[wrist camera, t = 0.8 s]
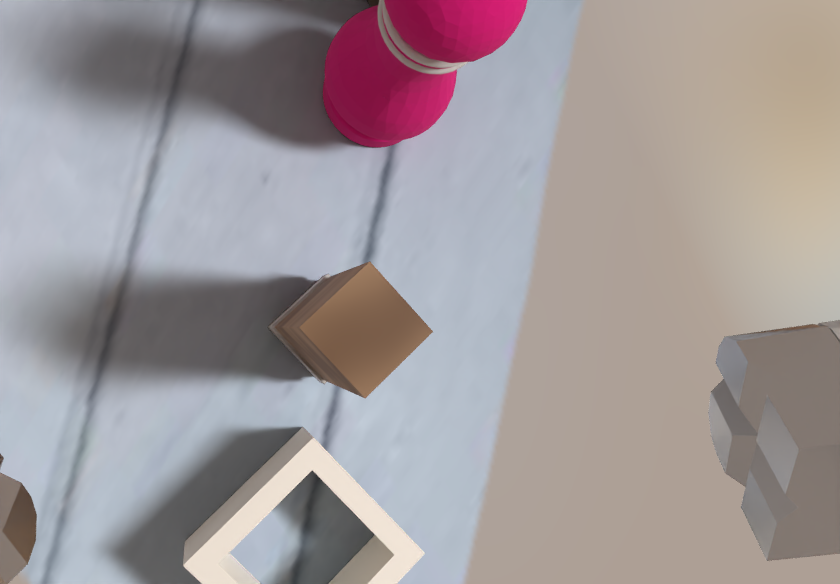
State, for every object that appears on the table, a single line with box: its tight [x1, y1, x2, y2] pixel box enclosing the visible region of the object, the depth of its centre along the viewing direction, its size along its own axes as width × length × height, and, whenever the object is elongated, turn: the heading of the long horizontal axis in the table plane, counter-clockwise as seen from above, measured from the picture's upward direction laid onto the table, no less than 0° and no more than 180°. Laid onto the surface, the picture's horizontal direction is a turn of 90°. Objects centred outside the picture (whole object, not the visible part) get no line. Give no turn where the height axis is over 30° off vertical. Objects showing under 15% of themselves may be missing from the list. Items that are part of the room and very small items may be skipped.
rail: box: [268, 262, 433, 398], centre depth 39 cm, size 4×4×14 cm
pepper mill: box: [323, 0, 527, 147], centre depth 37 cm, size 7×7×20 cm
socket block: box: [183, 427, 425, 584], centre depth 42 cm, size 9×9×4 cm
